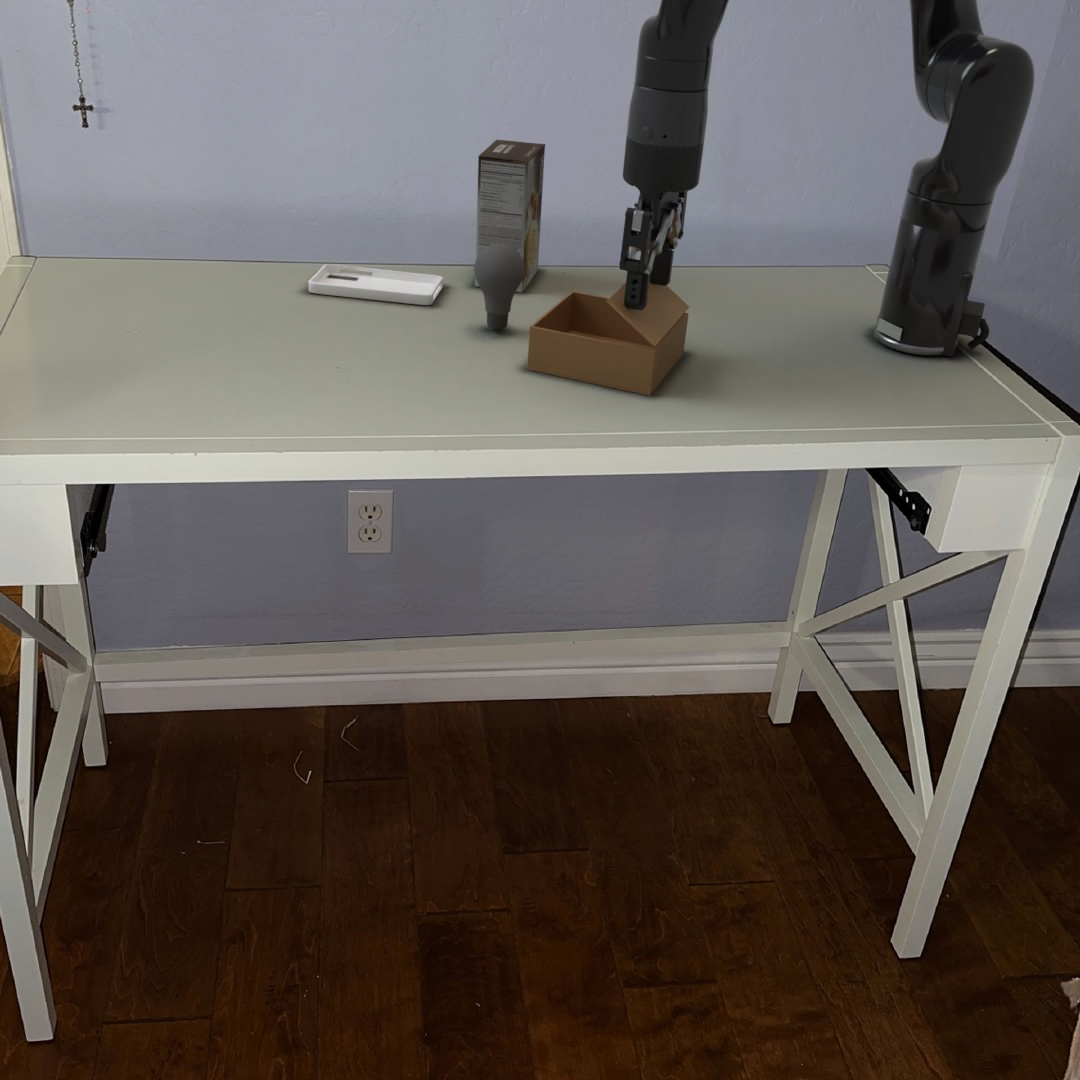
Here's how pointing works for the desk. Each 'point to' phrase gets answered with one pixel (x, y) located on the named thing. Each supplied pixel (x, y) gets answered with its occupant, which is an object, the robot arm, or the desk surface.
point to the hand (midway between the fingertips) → (647, 295)
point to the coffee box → (511, 200)
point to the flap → (651, 311)
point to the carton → (601, 346)
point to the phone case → (377, 285)
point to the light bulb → (498, 281)
